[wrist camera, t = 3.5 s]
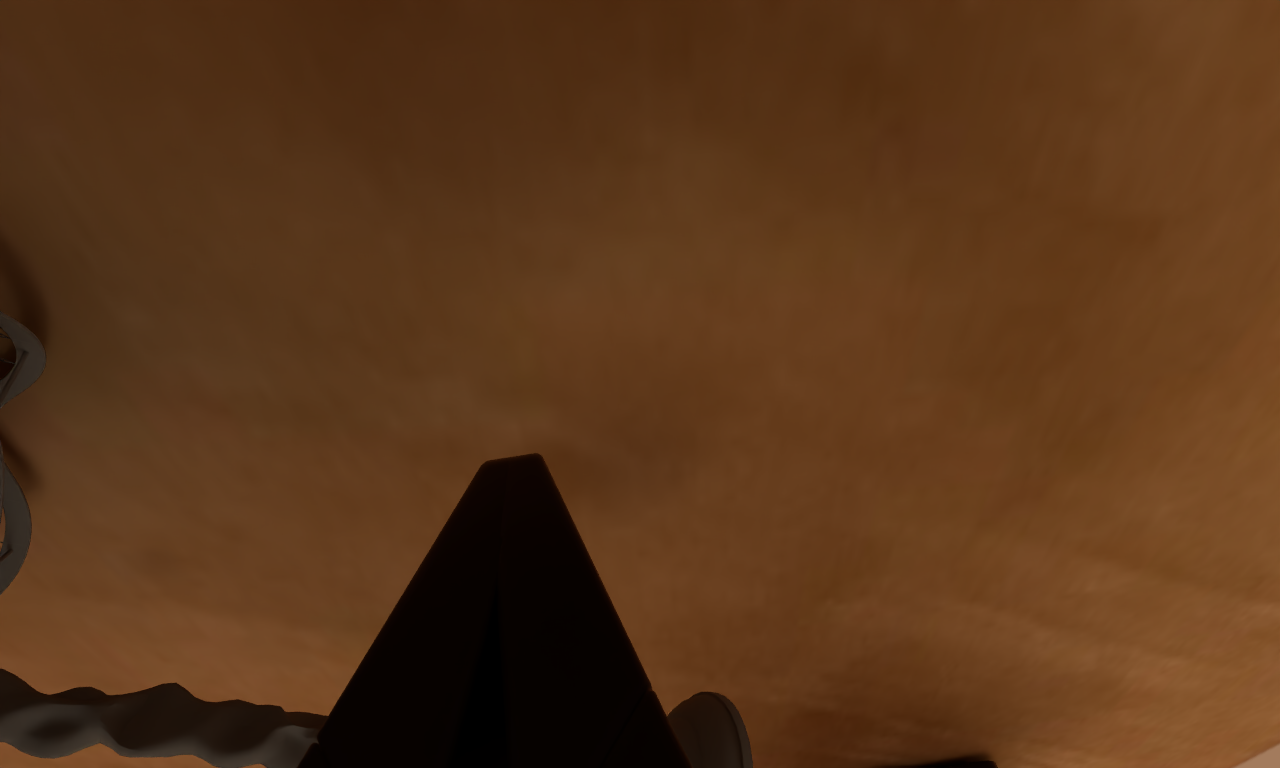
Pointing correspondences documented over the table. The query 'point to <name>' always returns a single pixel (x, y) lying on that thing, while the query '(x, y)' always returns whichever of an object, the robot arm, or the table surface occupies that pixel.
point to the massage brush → (223, 728)
